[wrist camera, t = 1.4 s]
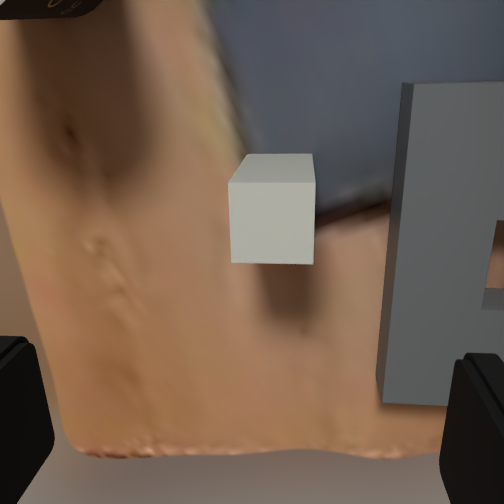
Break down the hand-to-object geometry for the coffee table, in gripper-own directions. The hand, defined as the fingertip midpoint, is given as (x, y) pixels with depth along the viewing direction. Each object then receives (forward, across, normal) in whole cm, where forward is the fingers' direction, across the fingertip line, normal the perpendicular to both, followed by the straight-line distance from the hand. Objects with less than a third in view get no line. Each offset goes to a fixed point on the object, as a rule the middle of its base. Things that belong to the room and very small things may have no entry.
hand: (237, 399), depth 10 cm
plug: (+20, 0, 0) cm, 20 cm away
